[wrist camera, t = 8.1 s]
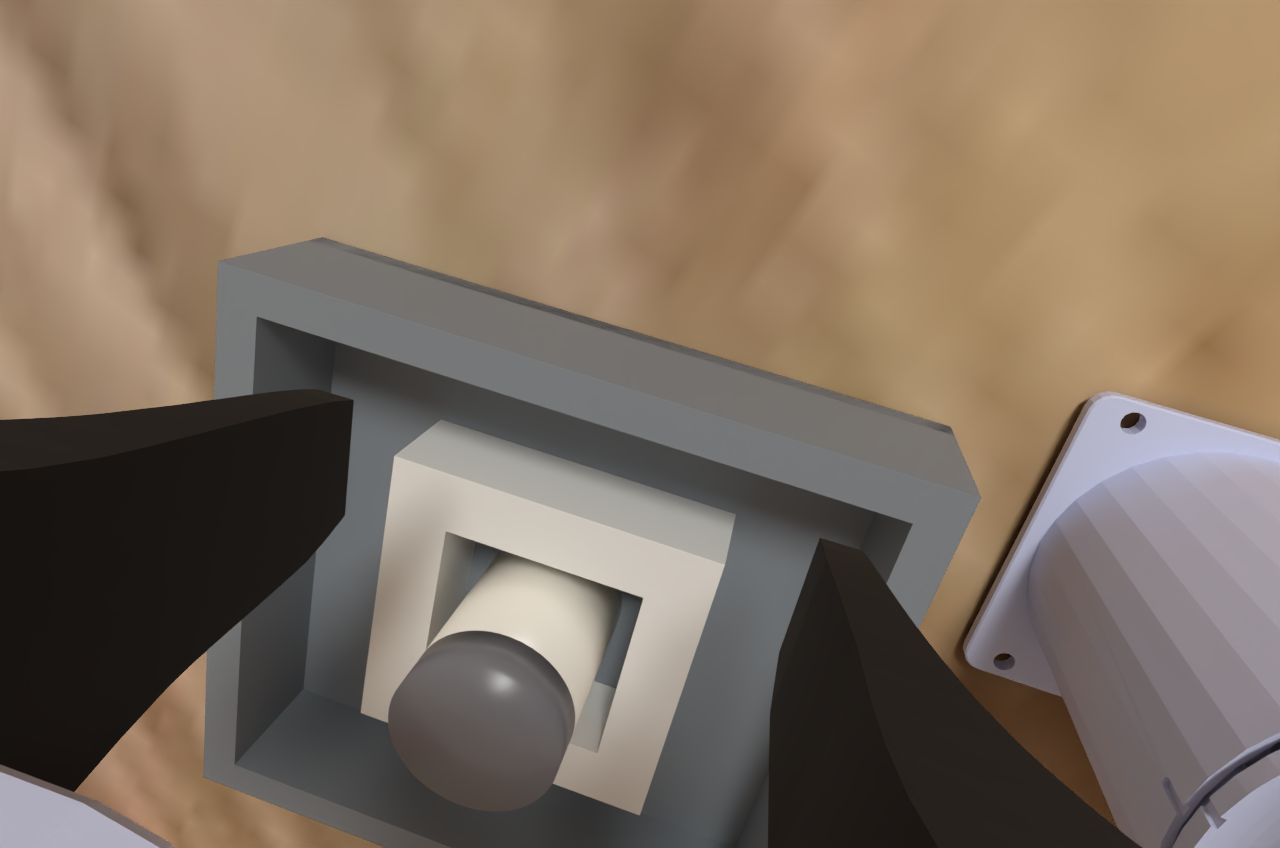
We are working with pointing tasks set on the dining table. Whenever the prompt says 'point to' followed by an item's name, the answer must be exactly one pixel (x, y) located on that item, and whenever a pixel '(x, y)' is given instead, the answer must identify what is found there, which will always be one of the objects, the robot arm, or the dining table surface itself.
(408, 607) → the inlet socket
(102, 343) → the dining table surface
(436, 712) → the connector peg
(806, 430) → the walled box
